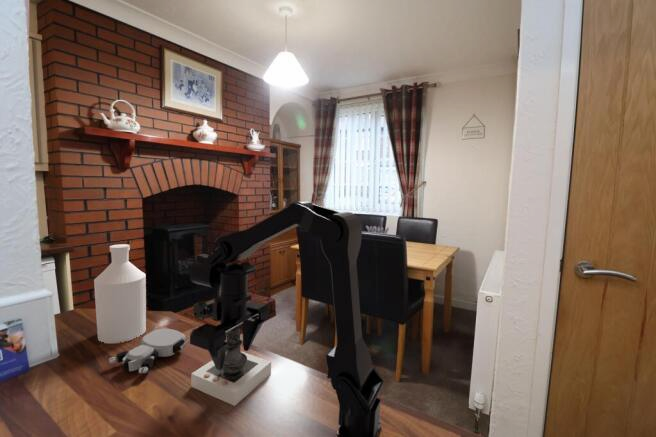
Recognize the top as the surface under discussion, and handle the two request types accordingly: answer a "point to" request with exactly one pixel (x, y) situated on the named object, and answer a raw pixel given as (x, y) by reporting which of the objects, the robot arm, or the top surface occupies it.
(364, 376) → the robot arm
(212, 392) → the socket block
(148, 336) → the robot toy
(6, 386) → the top surface
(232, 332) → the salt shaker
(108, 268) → the bottle
